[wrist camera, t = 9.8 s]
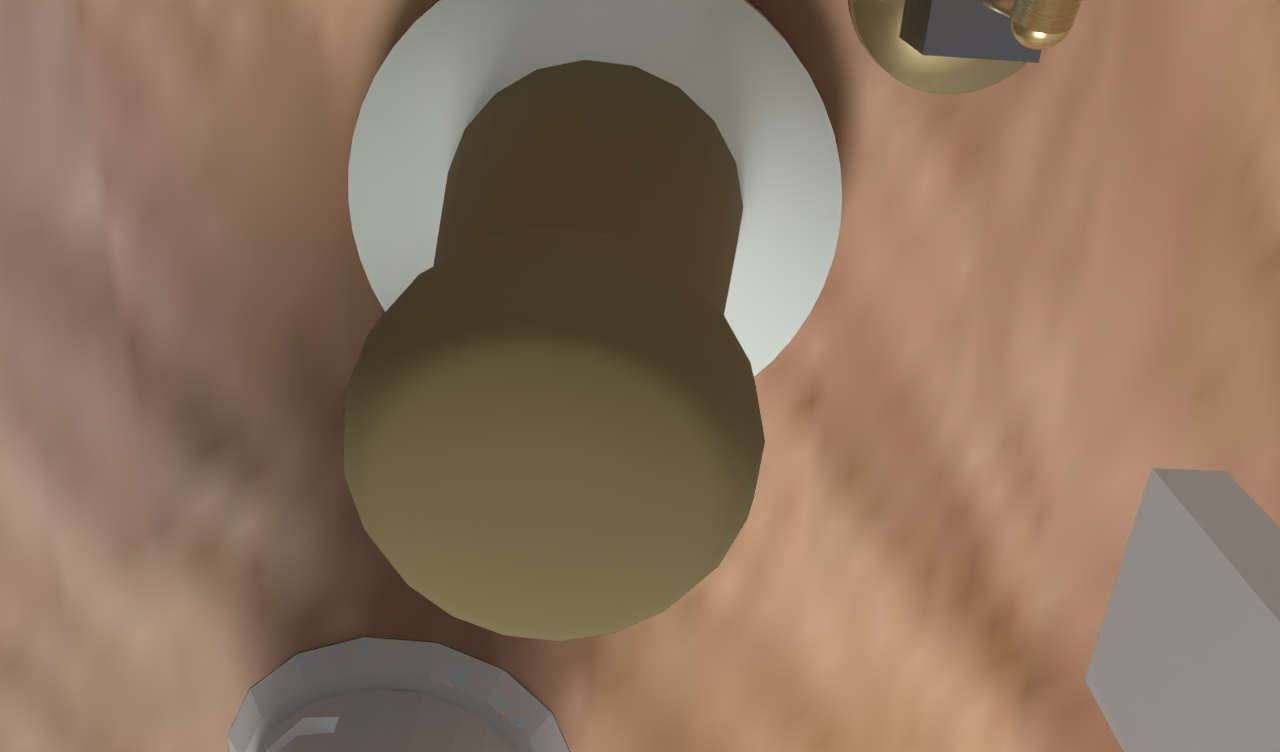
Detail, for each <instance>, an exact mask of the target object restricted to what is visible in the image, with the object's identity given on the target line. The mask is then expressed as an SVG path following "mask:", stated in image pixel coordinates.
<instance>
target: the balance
mask: <svg viewBox="0 0 1280 752" xmlns="http://www.w3.org/2000/svg"><path fill="white" fill-rule="evenodd" d="M1081 2H1082V0H848V6H849V12H850V17H851V20H852V23H853V26H854V29H855V31H856V34H857V36H858V38H859V40H860V42H861V43H862V45H863V46H864V48H865V49H866V51H867V52H868V53H869V55H870V56H871V57H872V58H873V59H874V60H875V61H876V62H877V63H878V64H879V65H880V66H881V67H882V68H883V69H884V70H885V71H887V72H888V73H889V74H890V75H891V76H892V77H894V78H896V79H897V80H899V81H900V82H902V83H904V84H906V85H908V86H910V87H913V88H915V89H918V90H922V91H925V92H929V93H937V94H961V93H968V92H973V91H976V90H980V89H984V88H986V87H989V86H991V85H994V84H996V83H998V82H1000V81H1002V80H1004V79H1005V78H1007V77H1009V76H1011V75H1012V74H1013V73H1015V72H1016V71H1018V70H1019V69H1020V68H1022V67H1023V66H1024V65H1025V64H1026V63H1027V62H1036V63H1038V62H1039V58H1040V53H1041V49H1046V48H1050V47H1052V46H1054V45H1056V44H1058V43H1059V42H1060V41H1062V40H1063V39H1064V38H1065V37H1066V36H1067V34H1068V33H1069V31H1070V29H1071V27H1072V25H1073V23H1074V20H1075V17H1076V15H1077V12H1078V10H1079V7H1080V4H1081Z"/></svg>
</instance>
